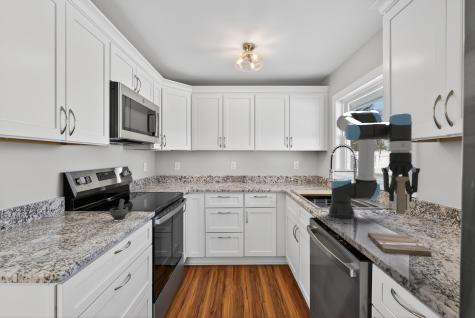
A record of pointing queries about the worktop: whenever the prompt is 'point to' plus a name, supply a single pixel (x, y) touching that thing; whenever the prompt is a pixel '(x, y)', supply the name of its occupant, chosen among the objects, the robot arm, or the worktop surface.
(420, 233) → the worktop surface
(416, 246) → the board
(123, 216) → the mortar and pestle
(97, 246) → the worktop surface
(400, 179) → the handle
